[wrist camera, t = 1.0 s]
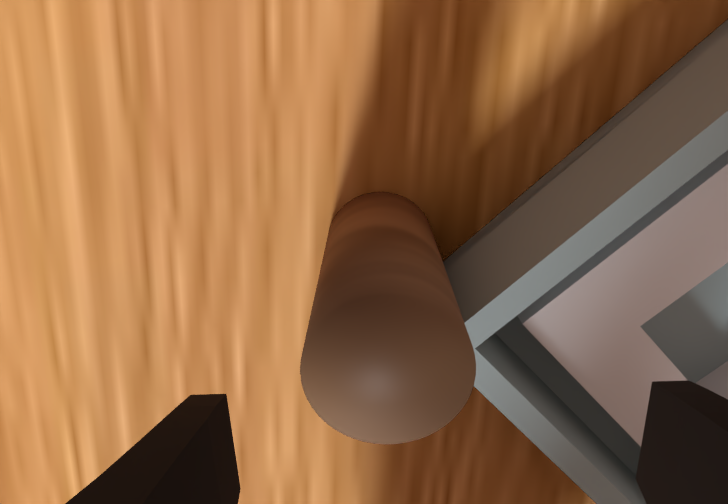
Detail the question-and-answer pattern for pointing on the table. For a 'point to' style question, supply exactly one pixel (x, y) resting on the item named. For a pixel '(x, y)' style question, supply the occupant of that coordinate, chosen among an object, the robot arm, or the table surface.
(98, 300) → the table surface
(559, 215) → the bore box
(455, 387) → the peg
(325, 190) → the table surface
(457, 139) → the table surface
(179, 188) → the table surface
